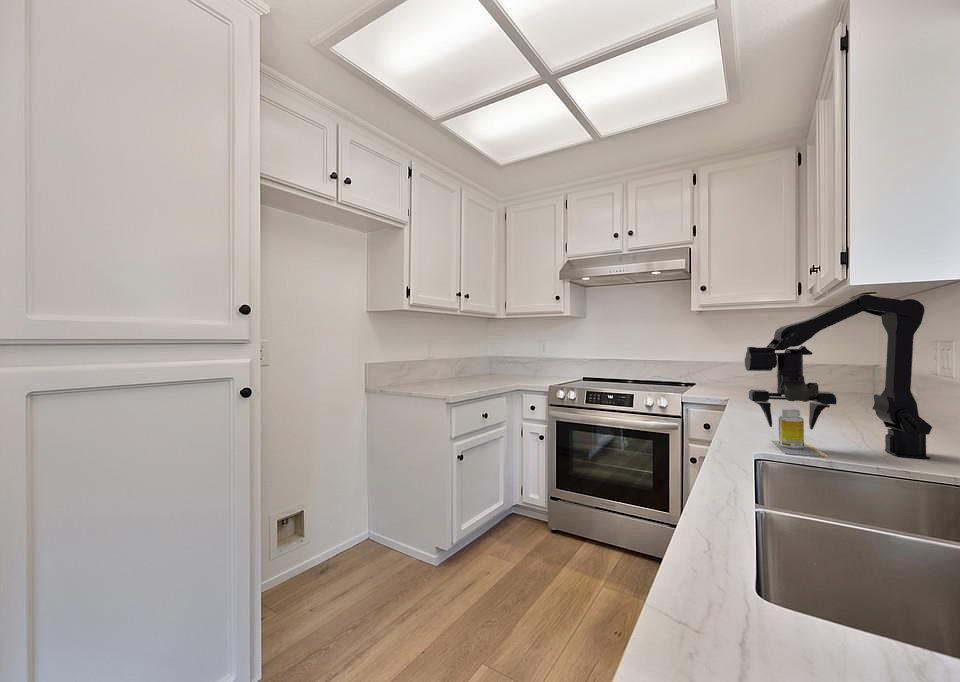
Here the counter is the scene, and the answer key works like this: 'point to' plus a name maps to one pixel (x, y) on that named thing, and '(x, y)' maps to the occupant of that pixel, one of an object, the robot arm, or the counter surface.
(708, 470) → the counter surface
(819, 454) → the mat
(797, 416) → the supplement bottle
